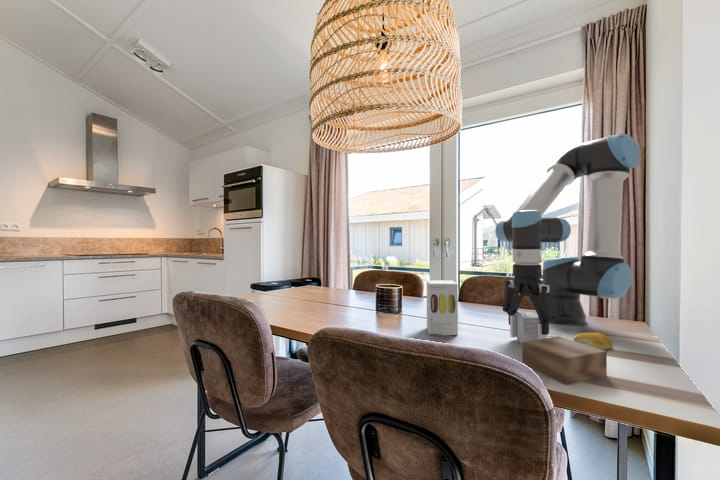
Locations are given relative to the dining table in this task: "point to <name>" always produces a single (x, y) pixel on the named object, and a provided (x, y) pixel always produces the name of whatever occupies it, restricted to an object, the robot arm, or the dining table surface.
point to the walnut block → (565, 359)
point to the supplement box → (442, 307)
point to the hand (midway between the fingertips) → (527, 340)
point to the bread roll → (594, 340)
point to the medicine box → (527, 326)
